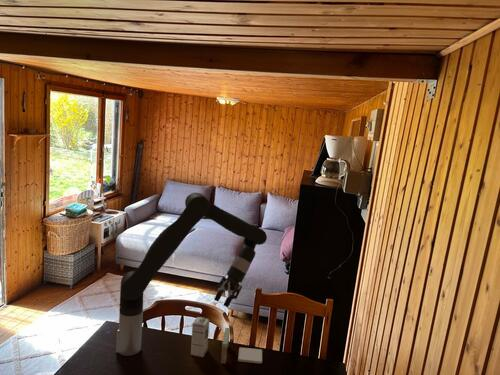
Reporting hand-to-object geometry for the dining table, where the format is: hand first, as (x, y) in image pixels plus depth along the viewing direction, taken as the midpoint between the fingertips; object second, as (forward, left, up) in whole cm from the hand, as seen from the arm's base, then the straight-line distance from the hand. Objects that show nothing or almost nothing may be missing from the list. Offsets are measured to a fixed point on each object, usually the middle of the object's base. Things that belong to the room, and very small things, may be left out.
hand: (220, 303), depth 152 cm
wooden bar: (+4, -2, -15) cm, 15 cm away
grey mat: (+15, -1, -22) cm, 26 cm away
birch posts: (+4, -2, -22) cm, 22 cm away
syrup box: (-7, -2, -22) cm, 23 cm away
